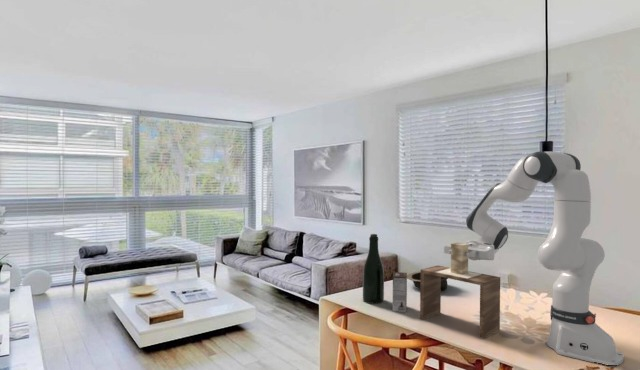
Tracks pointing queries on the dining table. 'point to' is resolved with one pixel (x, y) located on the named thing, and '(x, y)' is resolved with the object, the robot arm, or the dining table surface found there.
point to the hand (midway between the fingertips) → (458, 253)
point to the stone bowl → (416, 280)
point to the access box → (488, 283)
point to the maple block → (459, 258)
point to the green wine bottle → (373, 274)
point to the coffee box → (399, 291)
